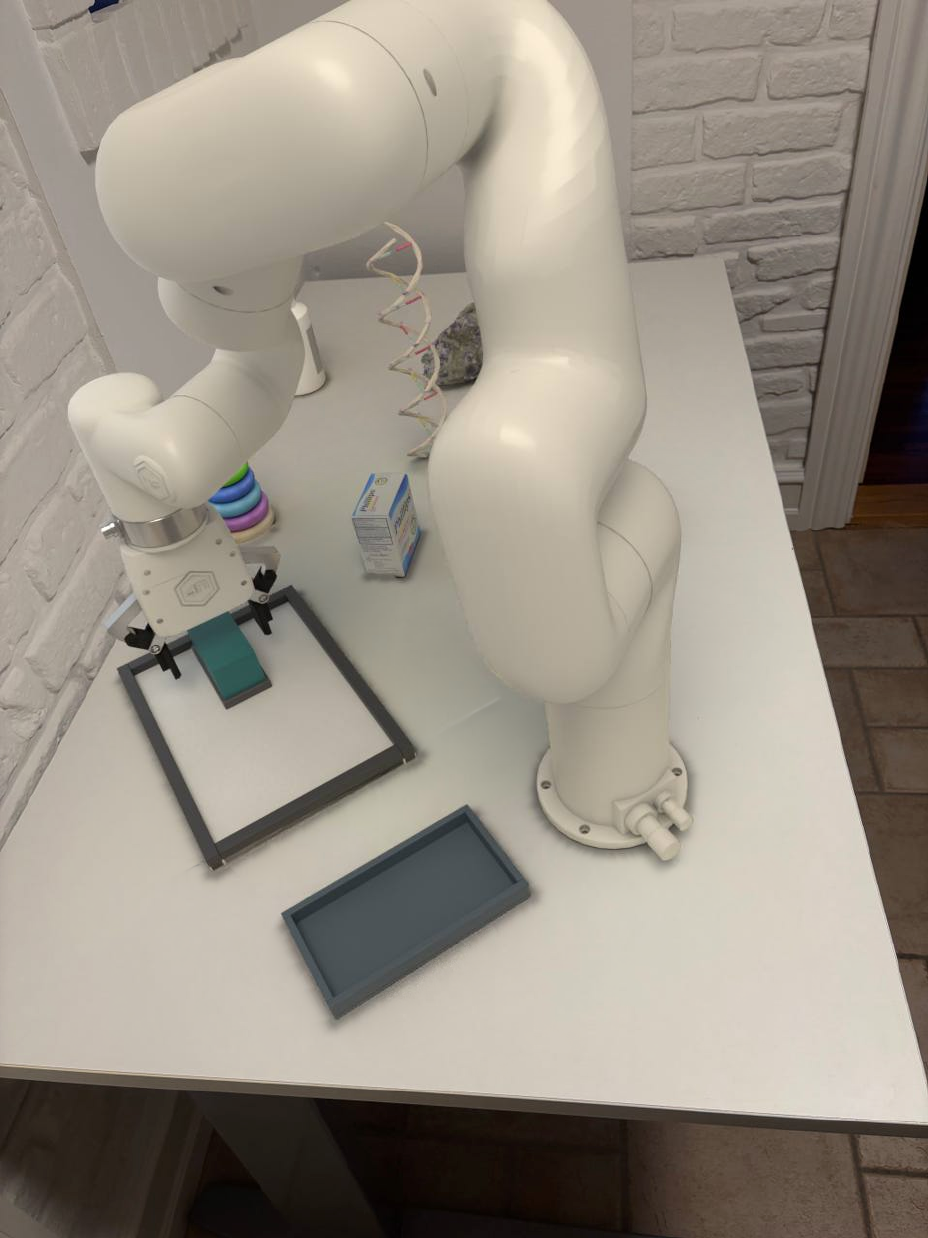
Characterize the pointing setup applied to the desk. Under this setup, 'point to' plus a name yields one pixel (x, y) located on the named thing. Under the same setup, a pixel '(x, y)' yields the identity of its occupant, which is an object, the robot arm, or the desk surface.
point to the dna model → (406, 328)
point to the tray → (403, 909)
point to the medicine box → (386, 524)
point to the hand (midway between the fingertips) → (219, 648)
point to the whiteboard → (265, 732)
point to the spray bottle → (308, 353)
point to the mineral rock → (457, 350)
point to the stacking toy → (243, 506)
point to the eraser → (228, 660)
